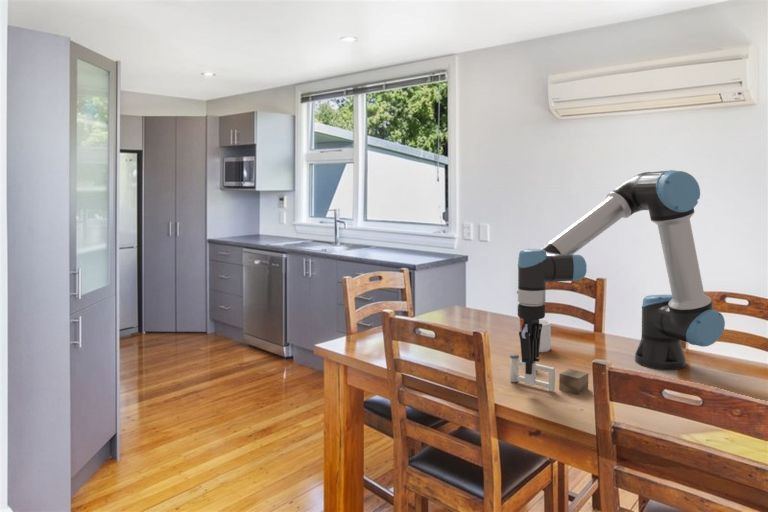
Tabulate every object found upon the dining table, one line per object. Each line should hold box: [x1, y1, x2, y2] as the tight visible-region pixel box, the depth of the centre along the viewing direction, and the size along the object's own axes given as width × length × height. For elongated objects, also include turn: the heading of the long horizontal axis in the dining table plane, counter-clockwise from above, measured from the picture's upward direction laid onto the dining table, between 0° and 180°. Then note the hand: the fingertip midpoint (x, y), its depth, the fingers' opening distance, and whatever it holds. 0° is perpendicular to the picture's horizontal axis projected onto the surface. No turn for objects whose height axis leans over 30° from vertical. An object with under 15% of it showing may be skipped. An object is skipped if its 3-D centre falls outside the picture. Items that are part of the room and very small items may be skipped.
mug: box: [539, 319, 552, 353], centre depth 199 cm, size 12×8×10 cm
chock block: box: [558, 368, 589, 396], centre depth 160 cm, size 6×6×5 cm
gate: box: [509, 353, 556, 392], centre depth 163 cm, size 14×3×8 cm, turn 46°
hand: (530, 383), depth 157 cm, fingers closed
